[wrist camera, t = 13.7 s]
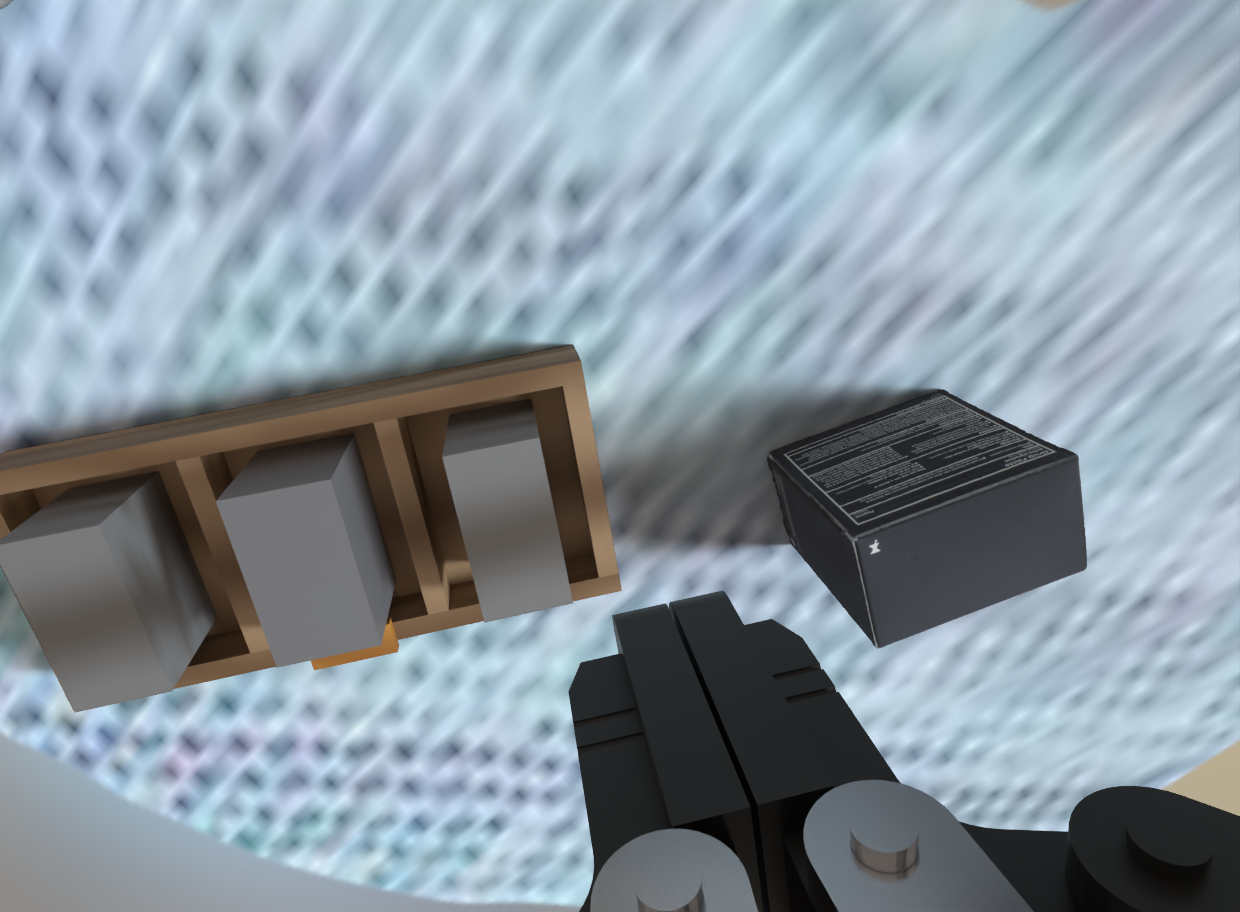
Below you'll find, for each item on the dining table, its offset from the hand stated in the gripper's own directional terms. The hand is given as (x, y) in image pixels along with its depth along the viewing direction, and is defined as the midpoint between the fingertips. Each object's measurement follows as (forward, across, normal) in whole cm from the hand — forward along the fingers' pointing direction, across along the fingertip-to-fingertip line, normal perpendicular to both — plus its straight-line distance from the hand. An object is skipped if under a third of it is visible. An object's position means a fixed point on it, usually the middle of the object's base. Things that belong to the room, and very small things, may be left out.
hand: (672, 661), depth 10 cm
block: (+28, +12, +8) cm, 32 cm away
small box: (+29, -16, +12) cm, 35 cm away
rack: (+29, +12, +8) cm, 32 cm away
